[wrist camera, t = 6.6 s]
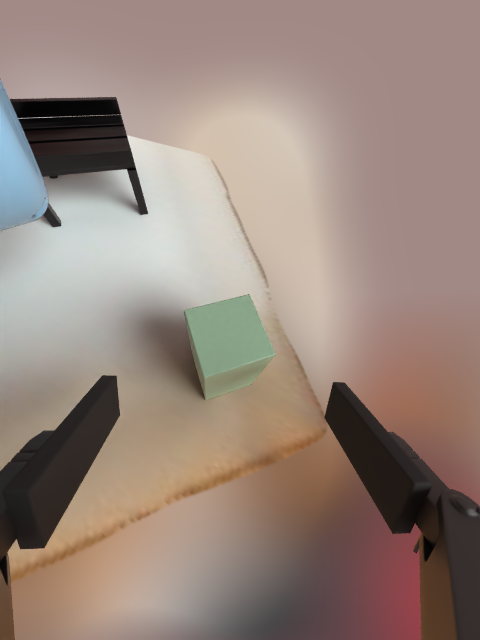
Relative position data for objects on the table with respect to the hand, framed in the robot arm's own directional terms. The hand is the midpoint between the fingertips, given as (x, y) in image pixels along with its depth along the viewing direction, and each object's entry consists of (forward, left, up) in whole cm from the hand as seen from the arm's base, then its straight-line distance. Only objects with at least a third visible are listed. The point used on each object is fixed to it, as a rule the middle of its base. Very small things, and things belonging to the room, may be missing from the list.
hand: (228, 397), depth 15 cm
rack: (-8, +34, -10) cm, 36 cm away
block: (+1, +4, -10) cm, 11 cm away
